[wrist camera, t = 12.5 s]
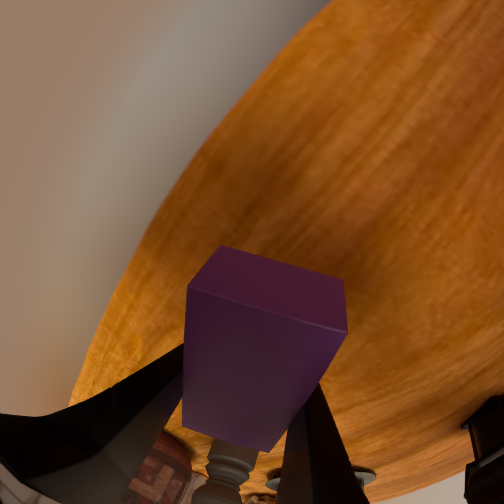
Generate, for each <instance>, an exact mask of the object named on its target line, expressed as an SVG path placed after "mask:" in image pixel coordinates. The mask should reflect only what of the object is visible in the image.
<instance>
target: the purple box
mask: <svg viewBox="0 0 504 504" xmlns="http://www.w3.org/2000/svg"><path fill="white" fill-rule="evenodd" d="M347 333H348V327H347V314H346V303H345V293H344V283H343V280H342V279H339V278H335V277H332V276H328V275H325V274H321V273H318V272H314V271H311V270H307V269H304V268H300V267H297V266H293V265H290V264H286V263H283V262H279V261H276V260H272V259H269V258H265V257H262V256H258V255H255V254H251V253H248V252H245V251H241V250H238V249H234V248H231V247H227V246H224V245H220V246H219V247H218V248H217V250H216V251H215V252H214V253H213V255H212V256H211V257H210V258H209V260H208V261H207V262H206V263H205V264H204V266H203V267H202V268H201V269H200V271H199V272H198V273H197V274H196V276H195V277H194V278H193V279H192V281H191V282H190V283H189V284H188V286H187V297H186V312H185V328H184V349H183V366H184V371H183V396H182V426H183V427H186V428H188V429H191V430H194V431H196V432H199V433H202V434H205V435H208V436H211V437H214V438H217V439H220V440H223V441H226V442H229V443H233V444H236V445H240V446H243V447H247V448H251V449H255V450H259V451H263V452H267V453H269V452H270V451H271V450H272V448H273V447H274V446H275V444H276V443H277V442H278V441H279V439H280V438H281V437H282V435H283V434H284V433H285V431H286V430H287V429H288V427H289V425H290V424H291V422H292V421H293V420H294V418H295V417H296V415H297V414H298V412H299V411H300V409H301V408H302V407H303V405H304V404H305V403H306V401H307V400H308V398H309V397H310V395H311V394H312V392H313V391H314V389H315V388H316V386H317V384H318V383H319V381H320V380H321V378H322V376H323V375H324V373H325V372H326V370H327V368H328V367H329V365H330V363H331V362H332V360H333V358H334V357H335V355H336V353H337V351H338V350H339V348H340V346H341V344H342V342H343V341H344V339H345V337H346V335H347Z"/></svg>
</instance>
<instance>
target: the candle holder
mask: <svg viewBox="0 0 504 504" xmlns="http://www.w3.org/2000/svg"><path fill="white" fill-rule="evenodd" d="M258 452H259V450H255V449H251V448H247V447H243V446H240V445H236V444H233V443H229V442H226V441H223V440H220V439H217V438H214V441H213V443H212V446H211V448H210V451H209V454H208V456H207V458H208V460H209V463H208V464H207V465H206V467H205V468H206V470H207V474H208V476H209V479H207V480H205V482H206V483H205V484H203V485H201V486H200V487H198V488H197V489H196V490H195V491H194V492H193V494H192V498H191V504H242V499H241V496H240V494H239V492H240V488H239V485H242V484H243V483H244V482H245V481H247V480H248V479H249V473H248V472H251V471H253V470H254V467H255V463H256V459H257V456H258Z"/></svg>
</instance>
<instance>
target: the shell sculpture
mask: <svg viewBox="0 0 504 504" xmlns="http://www.w3.org/2000/svg"><path fill="white" fill-rule="evenodd" d="M207 479H208V478H207V477H205V476H203V475H200V474H199V473H195V472H192V479H191V482H190V484H189V487H188V489H187V491H186V493H185V495H184V497H183V499H182V501H181V504H191V498H192V494H193V492H194V491H195V490H196V489H197V488H198V487H200V486H201V485H203V484H205V483H206V482H205V480H207ZM191 493H192V494H191Z"/></svg>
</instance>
